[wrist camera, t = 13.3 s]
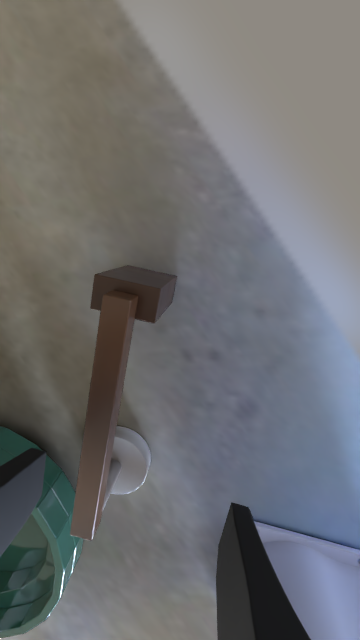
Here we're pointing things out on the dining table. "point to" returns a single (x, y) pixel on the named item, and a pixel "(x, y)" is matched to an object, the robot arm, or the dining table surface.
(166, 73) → the dining table surface
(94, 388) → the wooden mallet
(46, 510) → the bowl
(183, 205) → the dining table surface
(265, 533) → the robot arm
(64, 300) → the dining table surface
